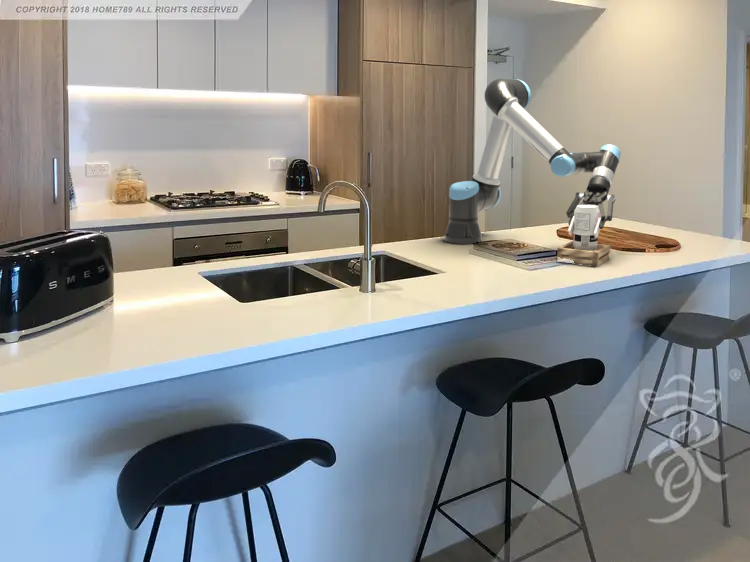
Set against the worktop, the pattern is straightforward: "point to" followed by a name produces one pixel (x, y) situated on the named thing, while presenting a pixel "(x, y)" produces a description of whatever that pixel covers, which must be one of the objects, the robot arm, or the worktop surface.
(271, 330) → the worktop surface
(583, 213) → the supplement can
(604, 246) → the crate
